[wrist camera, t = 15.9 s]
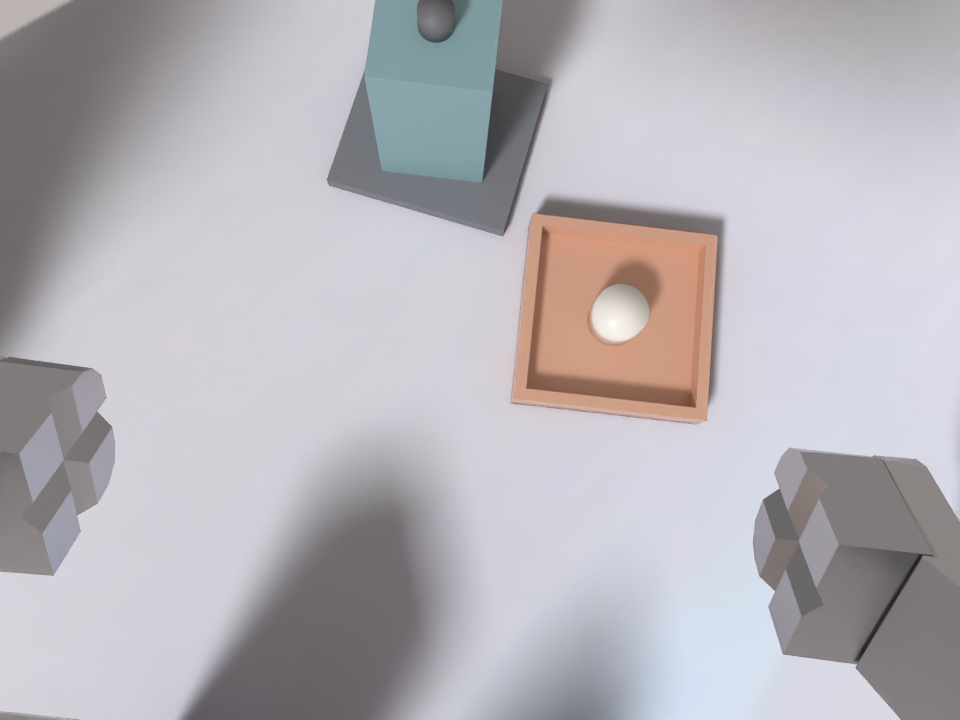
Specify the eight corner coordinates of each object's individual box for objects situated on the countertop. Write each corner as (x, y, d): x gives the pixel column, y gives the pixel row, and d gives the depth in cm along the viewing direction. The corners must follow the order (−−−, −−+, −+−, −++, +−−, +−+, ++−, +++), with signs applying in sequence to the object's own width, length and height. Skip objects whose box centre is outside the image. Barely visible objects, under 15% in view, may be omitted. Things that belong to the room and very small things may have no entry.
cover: (382, 170, 45) (361, 61, 34) (394, 78, 46) (378, -58, 35) (482, 182, 45) (494, 77, 34) (492, 90, 46) (507, -42, 35)
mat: (328, 185, 45) (326, 179, 45) (378, 43, 47) (376, 35, 46) (502, 236, 45) (503, 231, 45) (545, 91, 47) (547, 84, 46)
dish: (510, 403, 44) (515, 396, 41) (528, 224, 46) (534, 206, 43) (696, 424, 44) (713, 418, 41) (707, 245, 46) (724, 229, 43)
